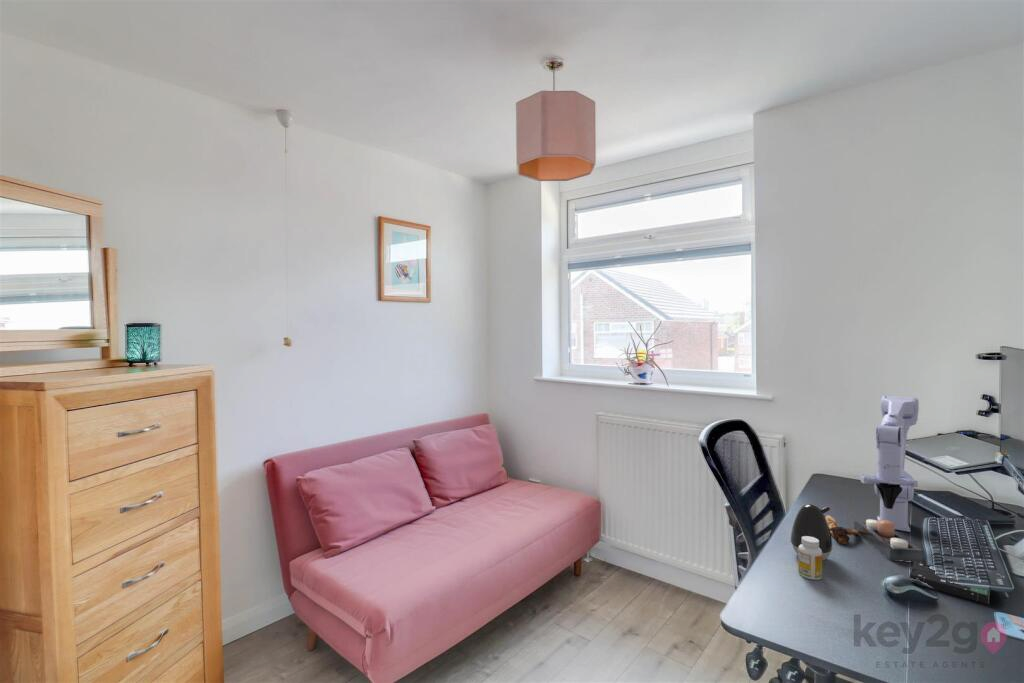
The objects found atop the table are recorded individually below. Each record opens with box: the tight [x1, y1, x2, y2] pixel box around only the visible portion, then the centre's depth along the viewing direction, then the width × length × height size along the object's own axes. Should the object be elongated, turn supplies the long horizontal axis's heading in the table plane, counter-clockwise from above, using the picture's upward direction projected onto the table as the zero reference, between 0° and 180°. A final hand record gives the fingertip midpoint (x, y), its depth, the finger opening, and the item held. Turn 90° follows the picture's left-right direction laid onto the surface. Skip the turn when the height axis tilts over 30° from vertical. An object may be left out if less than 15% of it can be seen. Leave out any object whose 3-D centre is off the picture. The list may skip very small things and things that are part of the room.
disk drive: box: [909, 561, 991, 605], centre depth 123 cm, size 10×3×15 cm
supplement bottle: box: [797, 536, 823, 581], centre depth 129 cm, size 5×5×10 cm
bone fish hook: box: [824, 515, 859, 545], centre depth 154 cm, size 9×5×18 cm
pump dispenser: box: [790, 503, 834, 562], centre depth 139 cm, size 10×10×15 cm
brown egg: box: [877, 519, 896, 538], centre depth 146 cm, size 4×4×4 cm
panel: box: [853, 519, 924, 563], centre depth 146 cm, size 21×8×4 cm, turn 168°
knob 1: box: [865, 518, 878, 528], centre depth 153 cm, size 4×4×4 cm
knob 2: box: [890, 538, 908, 548], centre depth 139 cm, size 4×4×4 cm
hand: (888, 507), depth 151 cm, fingers closed
